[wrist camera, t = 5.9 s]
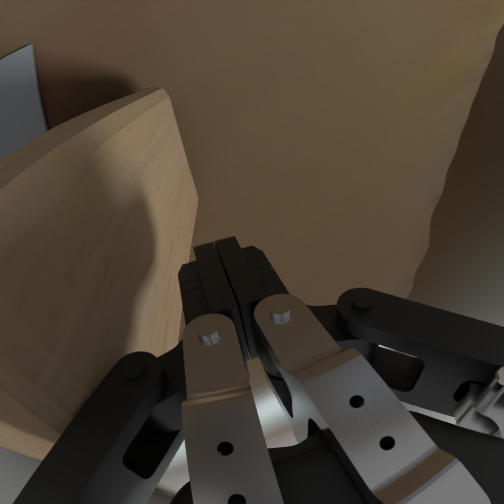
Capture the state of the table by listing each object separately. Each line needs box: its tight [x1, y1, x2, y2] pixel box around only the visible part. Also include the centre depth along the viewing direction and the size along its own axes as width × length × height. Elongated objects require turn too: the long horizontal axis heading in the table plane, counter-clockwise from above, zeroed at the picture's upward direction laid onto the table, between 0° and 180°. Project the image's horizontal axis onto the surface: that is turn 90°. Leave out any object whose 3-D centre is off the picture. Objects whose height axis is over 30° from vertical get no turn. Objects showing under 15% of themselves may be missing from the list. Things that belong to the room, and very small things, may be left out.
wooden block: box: [0, 87, 198, 460], centre depth 13 cm, size 10×10×20 cm
